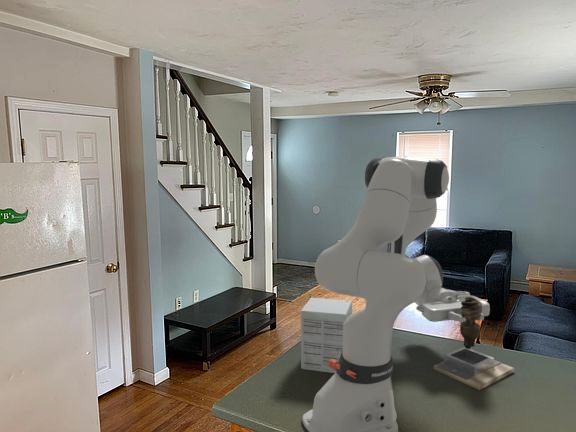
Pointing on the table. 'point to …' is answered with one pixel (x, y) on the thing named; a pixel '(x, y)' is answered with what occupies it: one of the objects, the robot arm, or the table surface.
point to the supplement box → (322, 332)
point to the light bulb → (470, 321)
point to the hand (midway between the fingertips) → (472, 318)
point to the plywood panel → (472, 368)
